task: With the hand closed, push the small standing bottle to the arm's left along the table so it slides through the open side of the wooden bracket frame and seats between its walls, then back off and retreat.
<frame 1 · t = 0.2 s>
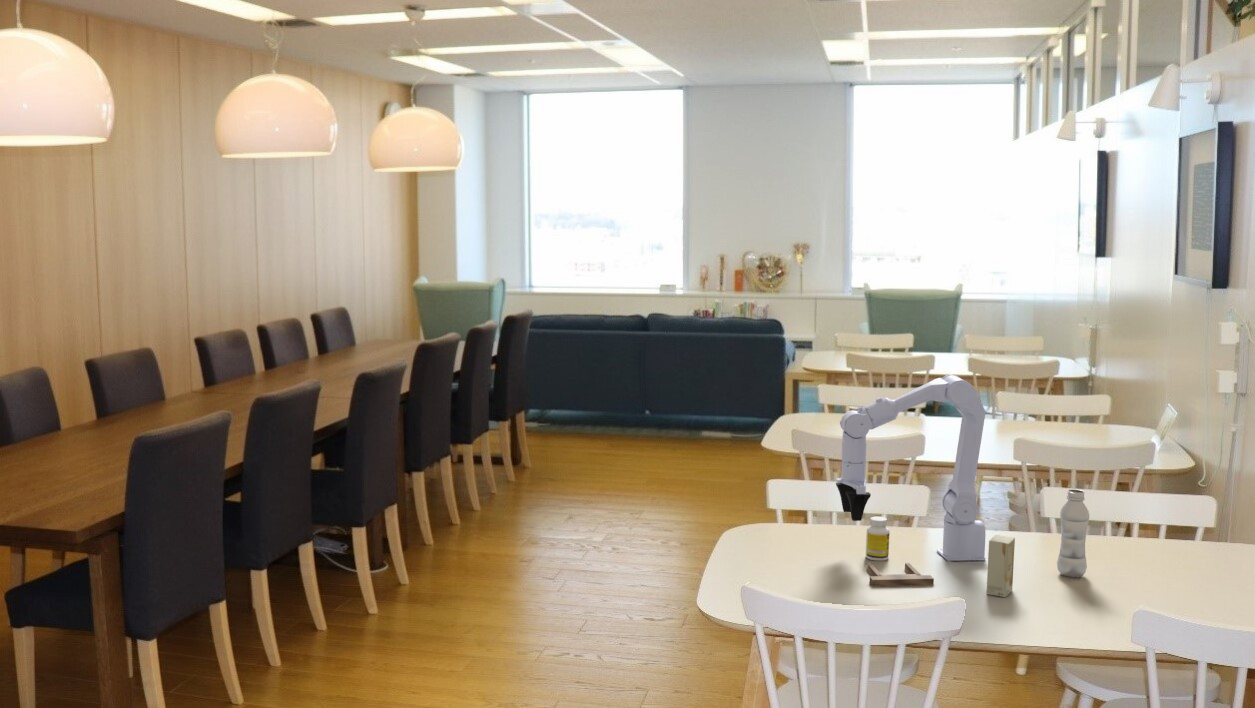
hand: (852, 516, 283), 10 cm above the table, tool pointing down, fingers open, 7 cm apart
supplement bottle: (877, 558, 282), on the table
wooden bracket frame: (893, 575, 270), on the table
plastic bottle: (1071, 576, 270), on the table
skincare box: (999, 593, 258), on the table
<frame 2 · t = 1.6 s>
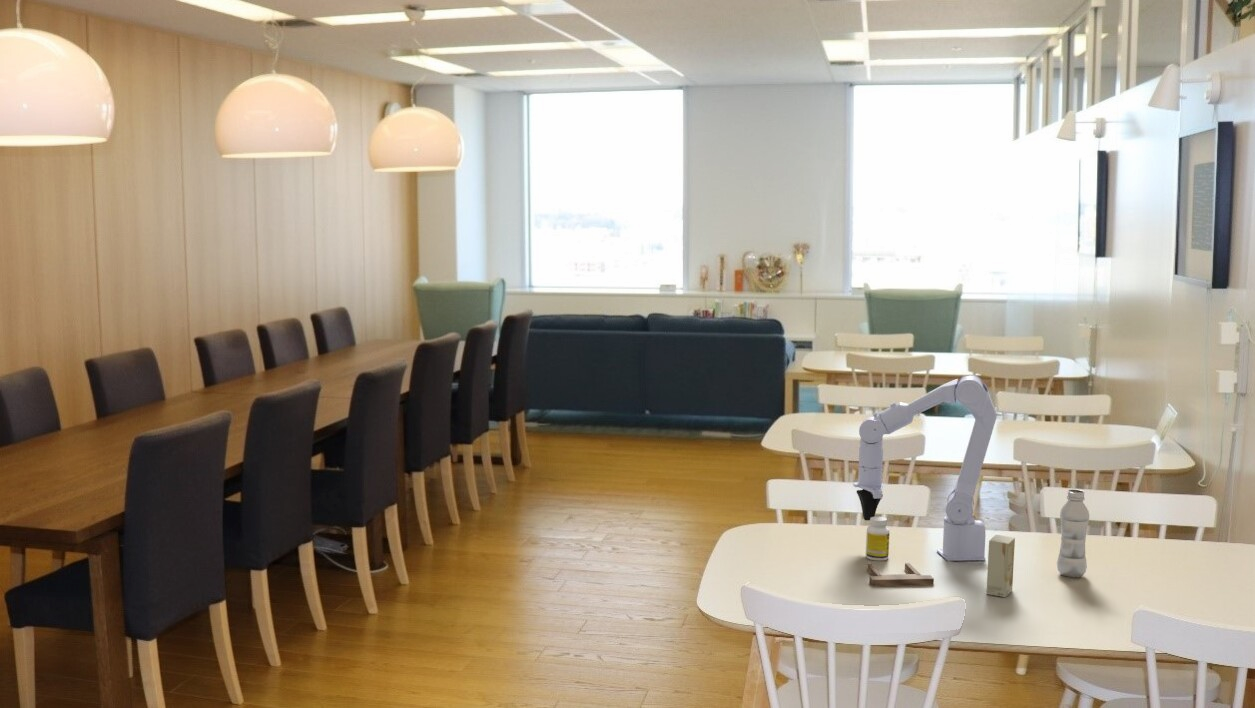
hand: (868, 519, 289), 7 cm above the table, tool pointing down, fingers closed
nothing on the table moved.
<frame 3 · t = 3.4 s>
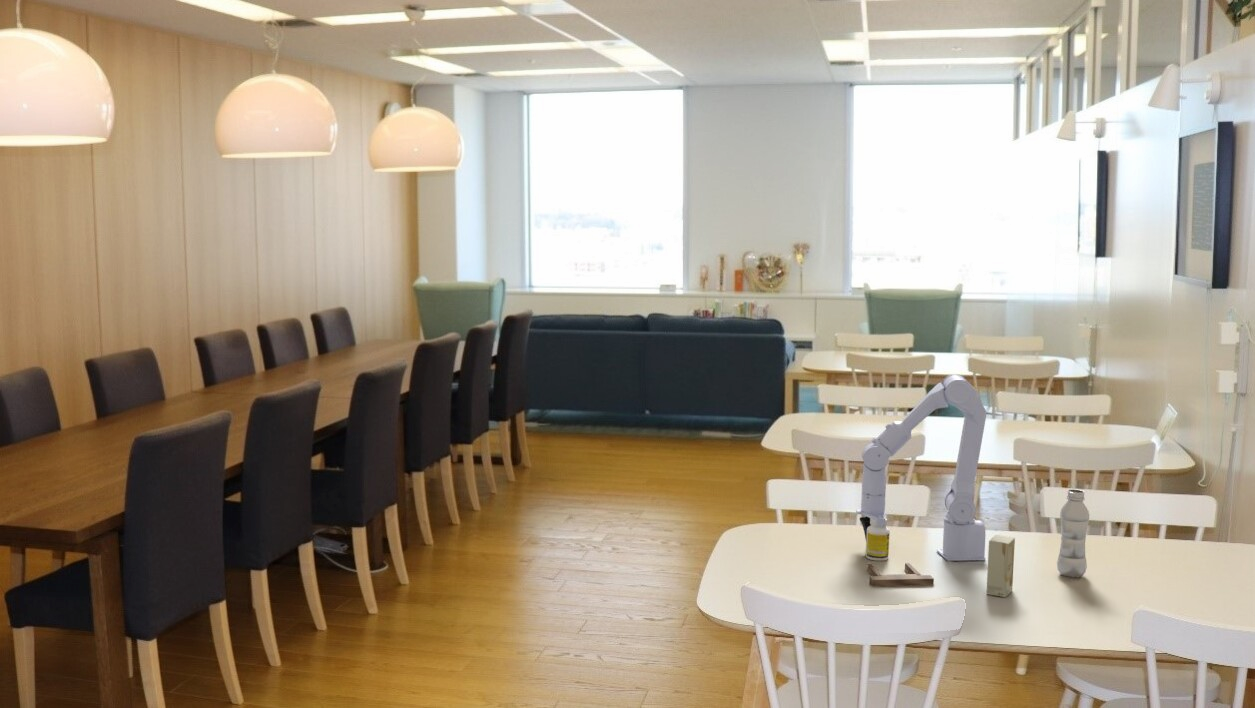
hand: (871, 546, 287), 1 cm above the table, tool pointing down, fingers closed
supplement bottle: (876, 558, 282), on the table, touching gripper
everything else where it was.
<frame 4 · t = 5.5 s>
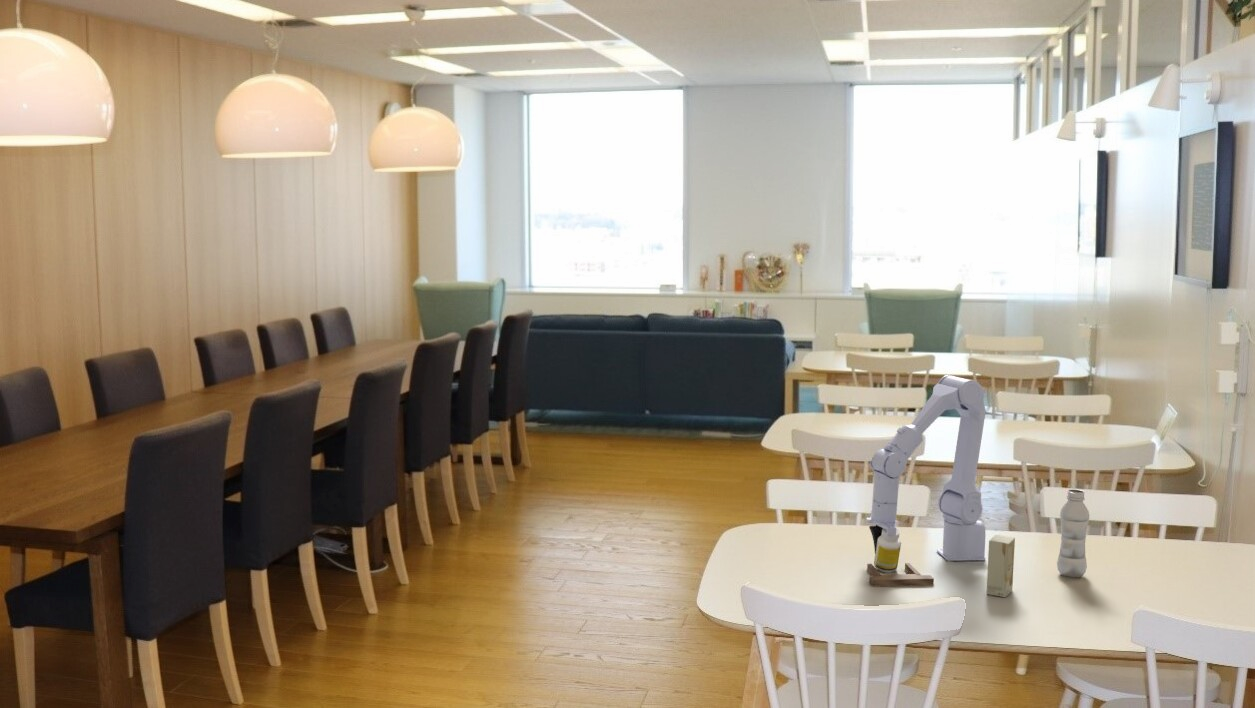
hand: (880, 557, 276), 2 cm above the table, tool pointing down, fingers closed, pressing on supplement bottle
supplement bottle: (885, 567, 274), on the table, touching gripper
everything else where it was.
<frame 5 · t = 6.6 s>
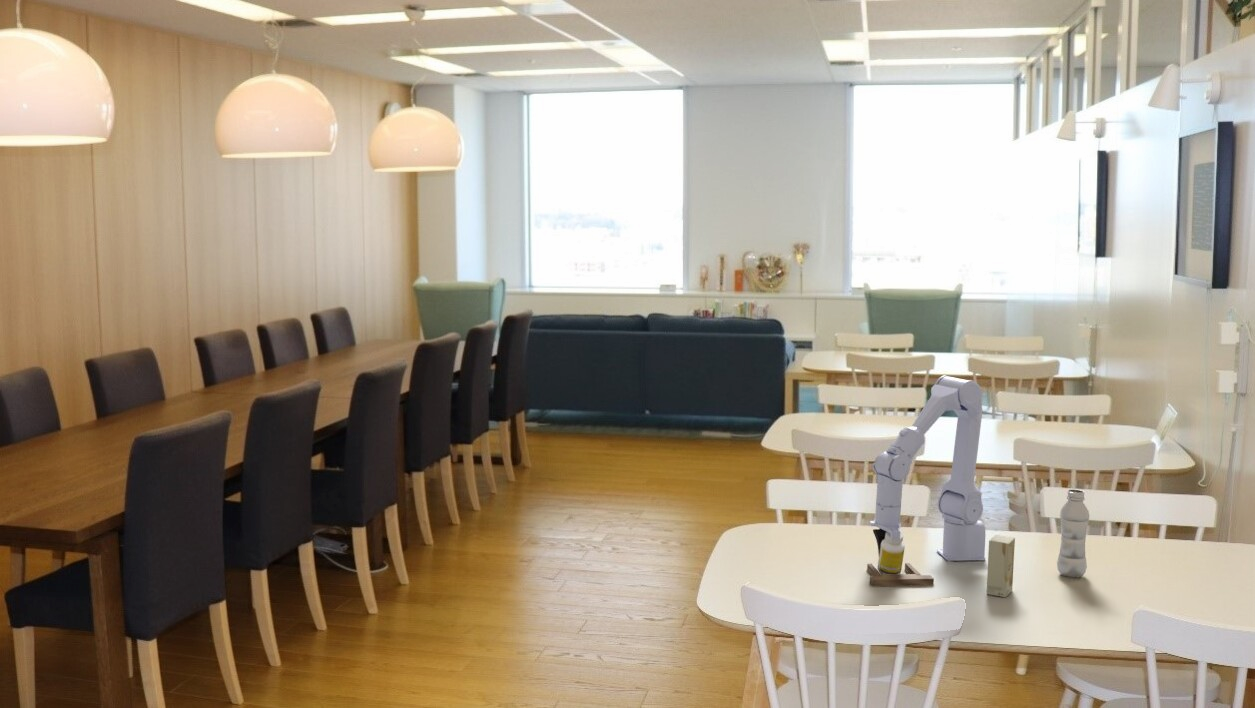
hand: (884, 560, 273), 2 cm above the table, tool pointing down, fingers closed, pressing on supplement bottle
supplement bottle: (889, 571, 272), on the table, touching gripper
everything else where it was.
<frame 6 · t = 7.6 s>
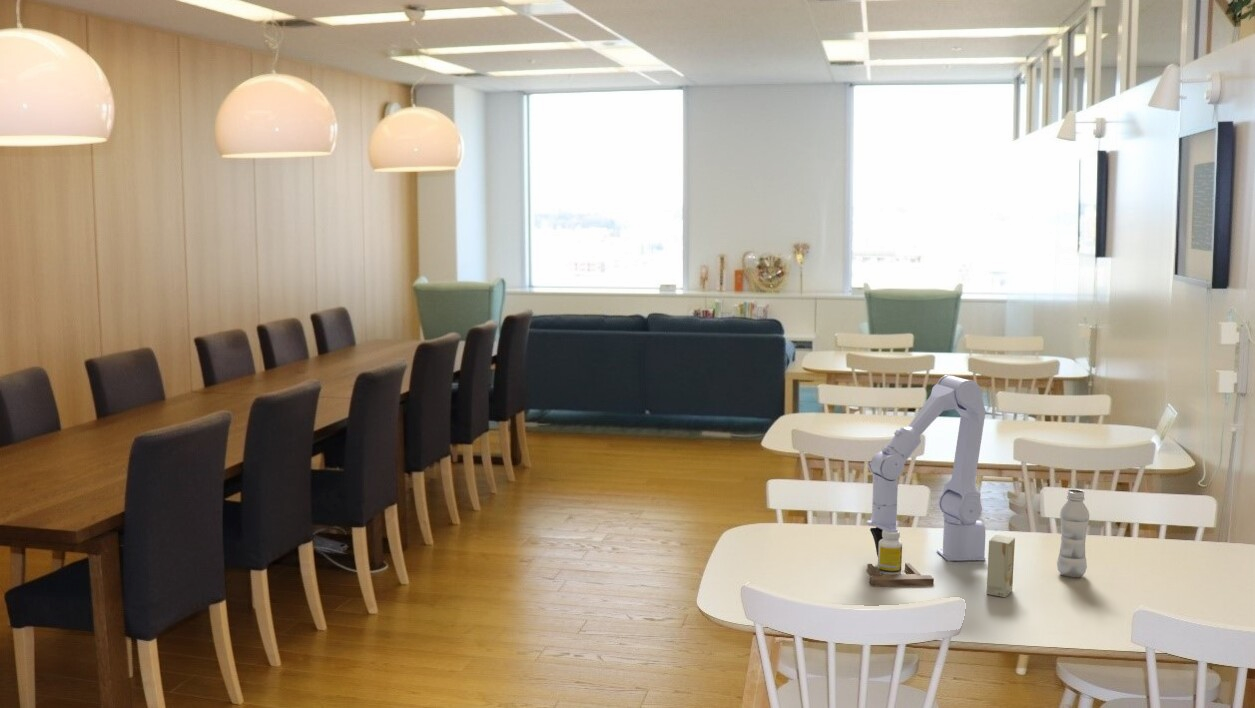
hand: (882, 558, 278), 1 cm above the table, tool pointing down, fingers closed
supplement bottle: (889, 573, 272), on the table
everything else where it was.
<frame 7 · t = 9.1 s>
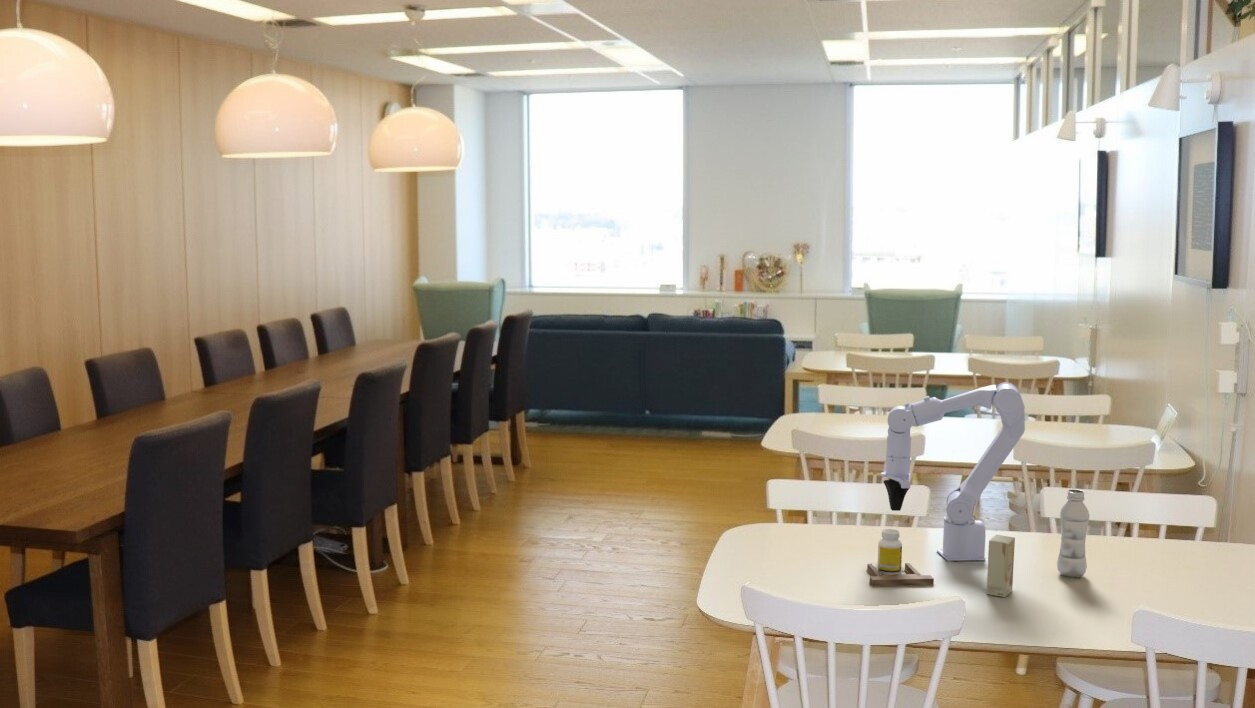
hand: (895, 509, 286), 10 cm above the table, tool pointing down, fingers closed
nothing on the table moved.
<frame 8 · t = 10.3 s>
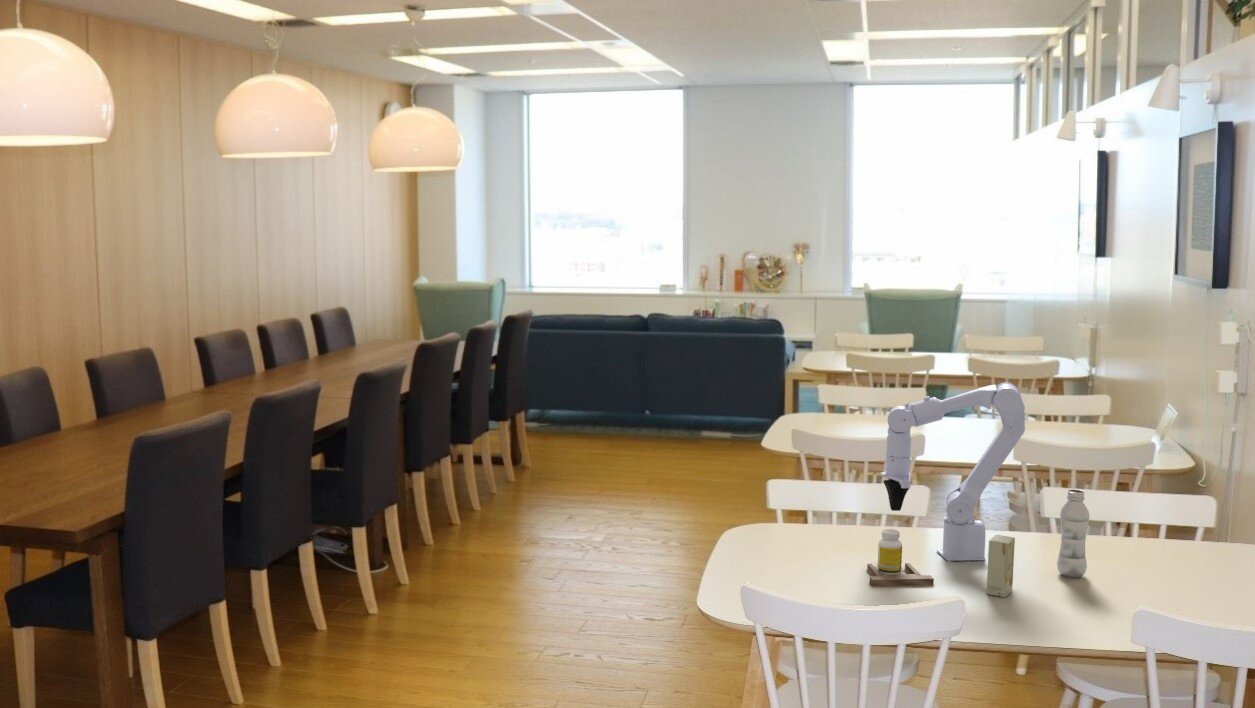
hand: (895, 509, 286), 10 cm above the table, tool pointing down, fingers closed
nothing on the table moved.
at the end: supplement bottle inside the target area on the wooden bracket frame (1.8 cm from its centre), point 0.0 cm above the wooden bracket frame's base; supplement bottle tilted 1° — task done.
